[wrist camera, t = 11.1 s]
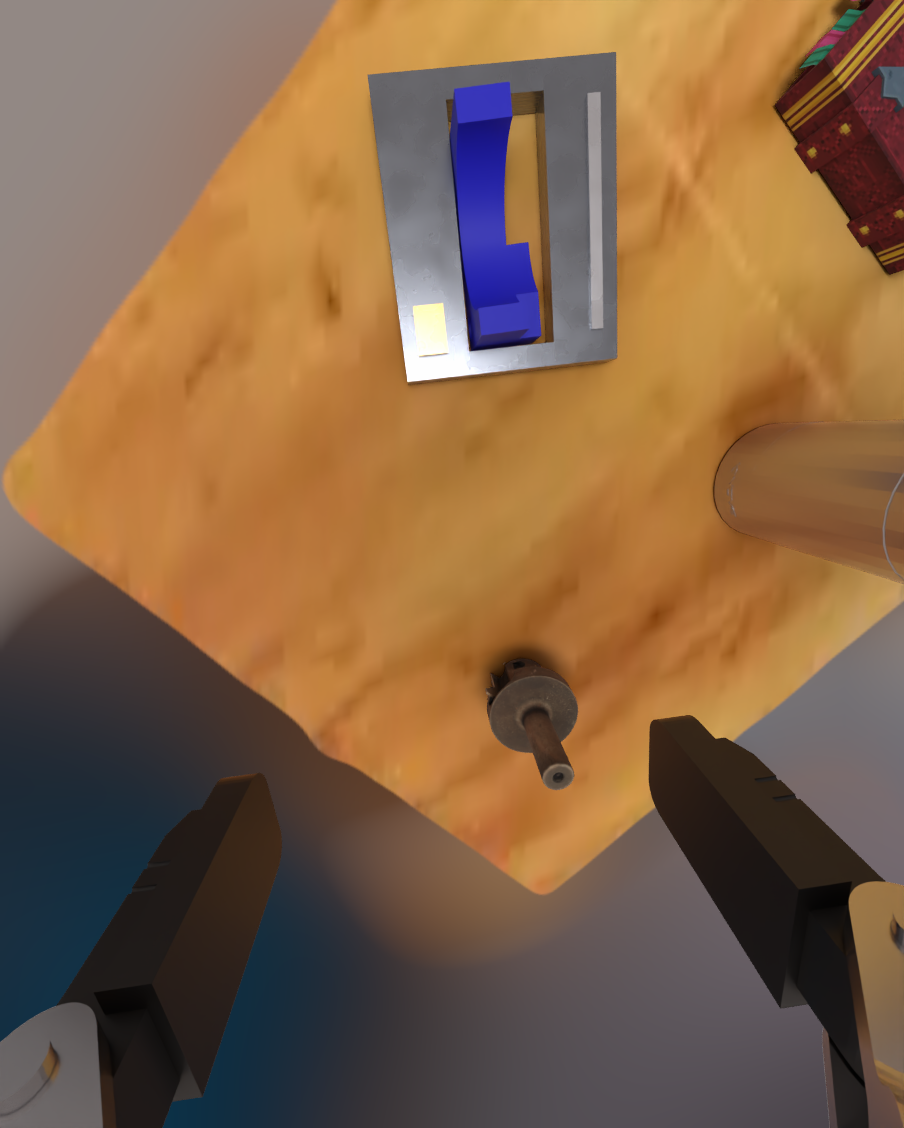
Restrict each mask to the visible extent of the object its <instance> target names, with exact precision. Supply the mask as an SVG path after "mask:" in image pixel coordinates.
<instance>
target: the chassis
mask: <svg viewBox="0 0 904 1128" xmlns="http://www.w3.org/2000/svg"><path fill="white" fill-rule="evenodd" d="M368 82H369V89H370V97H371V105H372V113H373V120H374V128H375V136H376V143H377V151H378V159H379V166H380V174H381V182H382V189H383V197H384V205H385V212H386V220H387V228H388V235H389V243H390V251H391V258H392V266H393V274H394V281H395V289H396V297H397V304H398V312H399V320H400V327H401V335H402V343H403V350H404V358H405V366H406V373H407V381H408V385H411V384H420V383H429V382H438V381H447V380H456V379H464V378H473V377H482V376H491V375H500V374H509V373H518V372H526V371H535V370H544V369H553V368H562V367H571V366H580V365H588V364H597V363H606V362H609V361H611V360H614V359H616V358H617V189H616V52H611V53H601V54H590V55H579V56H568V57H557V58H546V59H535V60H524V61H513V62H502V63H492V64H481V65H470V66H459V67H448V68H437V69H426V70H415V71H404V72H393V73H383V74H372V75H368ZM502 82H510V92H511V104H512V115H520V114H531V113H536V132H537V154H538V176H539V198H540V220H541V242H542V264H543V286H544V308H545V330H546V343H541V344H532V345H523V346H514V347H505V348H496V349H487V350H478V351H469V346H468V335H467V325H466V314H465V303H464V292H463V281H462V270H461V259H460V248H459V237H458V226H457V215H456V204H455V194H454V183H453V172H452V161H451V150H450V139H449V128H448V121H451V118H452V107H453V96H454V89H457V88H464V87H472V86H479V85H487V84H495V83H502Z"/></svg>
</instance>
